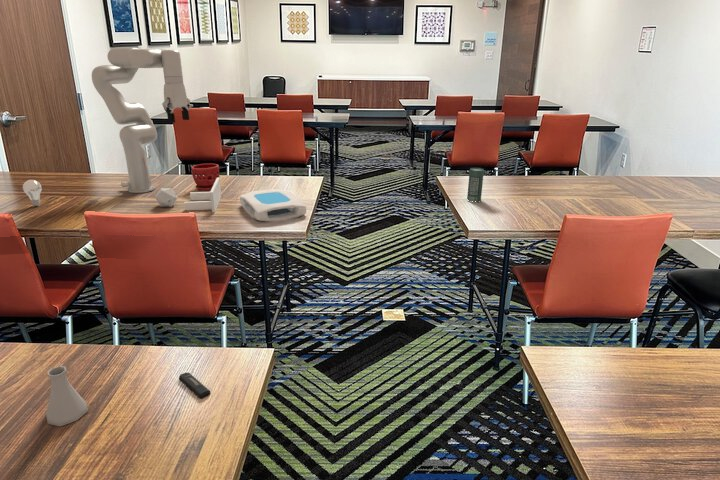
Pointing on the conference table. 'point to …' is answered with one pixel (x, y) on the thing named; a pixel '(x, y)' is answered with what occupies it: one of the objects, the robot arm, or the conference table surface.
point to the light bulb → (33, 191)
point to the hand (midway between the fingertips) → (179, 121)
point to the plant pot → (205, 176)
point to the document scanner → (272, 204)
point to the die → (166, 197)
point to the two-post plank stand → (205, 198)
